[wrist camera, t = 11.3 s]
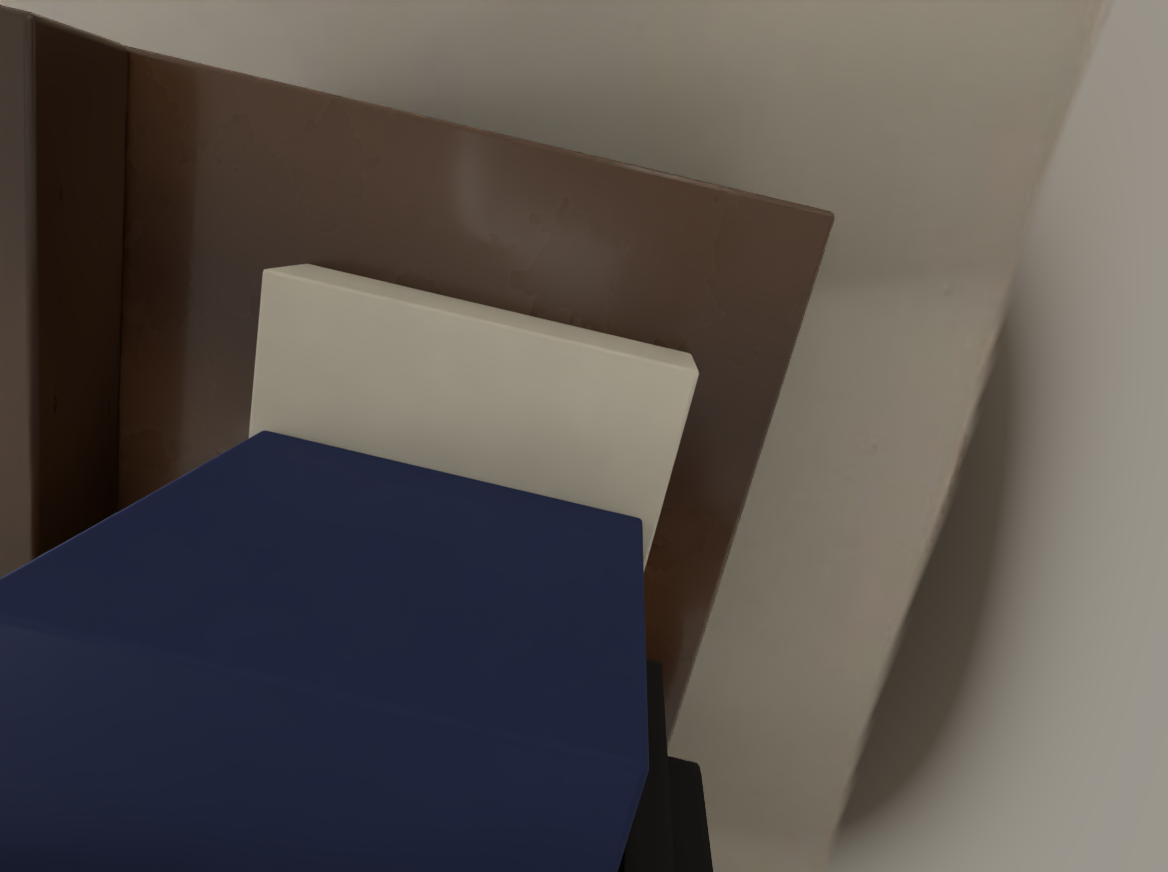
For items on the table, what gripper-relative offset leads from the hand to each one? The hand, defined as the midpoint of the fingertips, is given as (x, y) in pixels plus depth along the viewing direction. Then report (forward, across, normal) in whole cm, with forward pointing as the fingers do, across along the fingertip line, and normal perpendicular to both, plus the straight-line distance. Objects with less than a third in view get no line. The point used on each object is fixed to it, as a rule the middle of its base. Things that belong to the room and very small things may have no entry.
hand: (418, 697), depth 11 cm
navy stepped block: (+1, 0, +1) cm, 1 cm away
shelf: (+7, +1, 0) cm, 7 cm away
